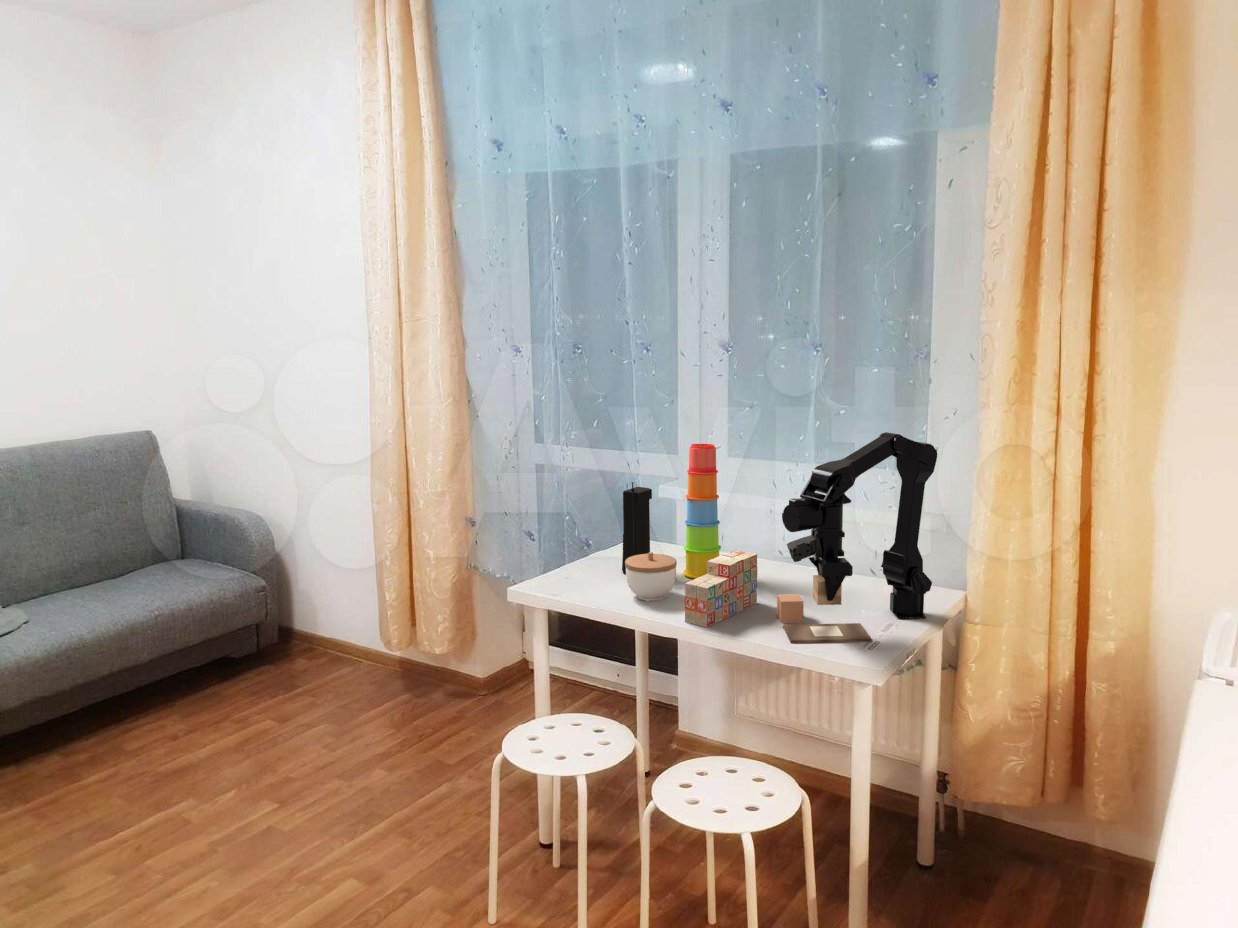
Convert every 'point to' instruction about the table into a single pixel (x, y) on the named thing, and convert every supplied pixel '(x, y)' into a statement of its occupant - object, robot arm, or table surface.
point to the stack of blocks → (722, 588)
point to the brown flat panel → (826, 633)
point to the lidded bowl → (651, 575)
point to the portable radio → (636, 522)
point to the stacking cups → (701, 510)
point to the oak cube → (824, 592)
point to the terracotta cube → (789, 608)
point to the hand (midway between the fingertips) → (827, 596)
